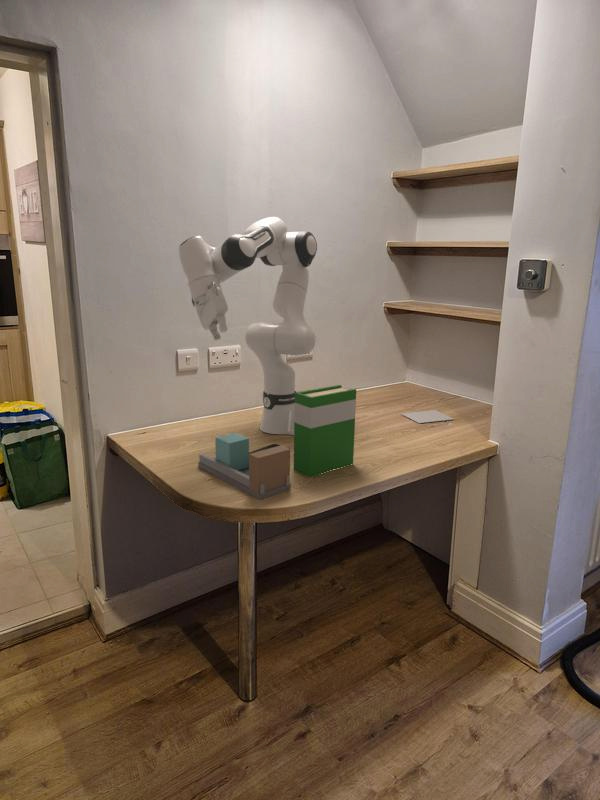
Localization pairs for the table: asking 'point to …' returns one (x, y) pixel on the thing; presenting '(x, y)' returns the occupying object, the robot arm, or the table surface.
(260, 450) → the phone
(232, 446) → the block
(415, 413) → the paper stack
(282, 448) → the keeper track
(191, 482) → the table surface
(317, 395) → the hardback book
